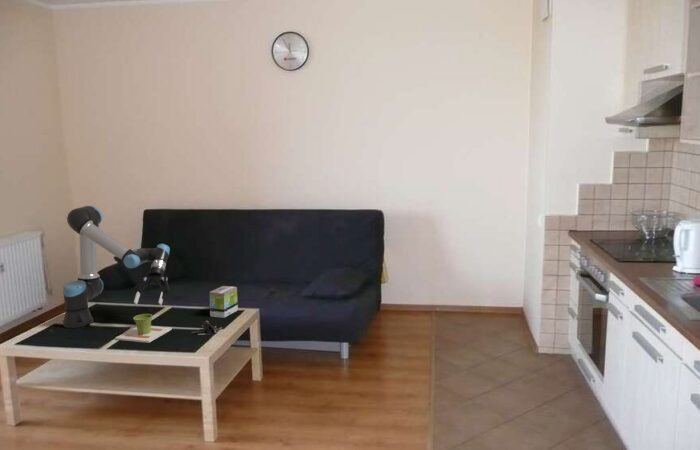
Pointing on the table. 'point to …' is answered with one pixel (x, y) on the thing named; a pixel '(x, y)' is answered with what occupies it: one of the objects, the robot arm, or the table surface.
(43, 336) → the table surface
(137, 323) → the plant pot
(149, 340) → the letter board
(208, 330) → the stuffed animal
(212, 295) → the tea box
